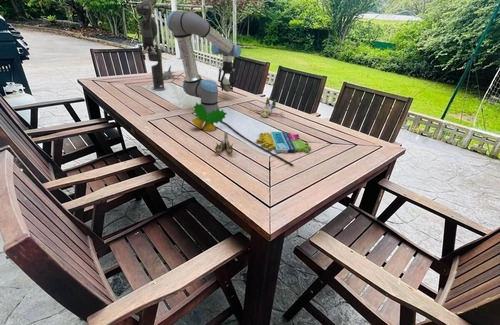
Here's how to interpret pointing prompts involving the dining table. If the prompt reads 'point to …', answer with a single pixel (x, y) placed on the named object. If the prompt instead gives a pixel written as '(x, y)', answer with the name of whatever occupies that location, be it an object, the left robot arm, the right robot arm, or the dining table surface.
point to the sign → (283, 142)
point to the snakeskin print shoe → (226, 85)
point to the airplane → (168, 74)
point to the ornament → (207, 117)
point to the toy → (267, 109)
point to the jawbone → (224, 145)
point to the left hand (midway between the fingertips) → (149, 59)
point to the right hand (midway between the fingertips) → (227, 90)
